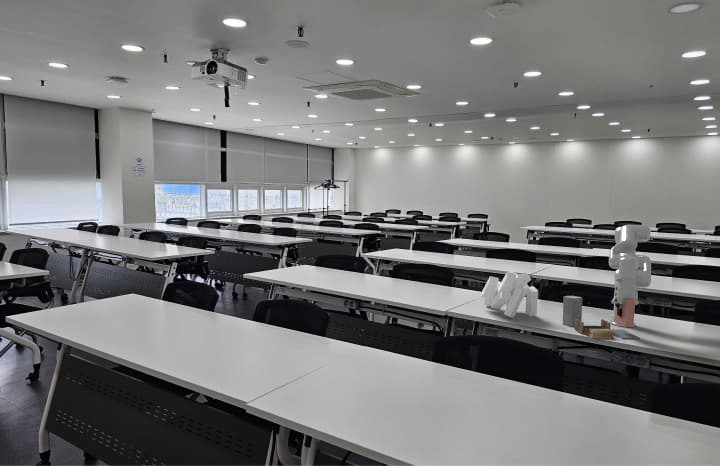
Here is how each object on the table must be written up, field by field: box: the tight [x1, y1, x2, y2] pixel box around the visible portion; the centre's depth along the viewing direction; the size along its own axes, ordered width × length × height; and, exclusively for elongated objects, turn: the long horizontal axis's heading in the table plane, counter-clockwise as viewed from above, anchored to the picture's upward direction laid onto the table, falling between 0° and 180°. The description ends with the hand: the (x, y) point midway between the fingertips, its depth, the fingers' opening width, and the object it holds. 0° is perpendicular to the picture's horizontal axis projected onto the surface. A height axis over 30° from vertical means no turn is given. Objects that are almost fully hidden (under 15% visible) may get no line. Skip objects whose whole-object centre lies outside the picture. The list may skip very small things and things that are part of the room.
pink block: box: [614, 299, 636, 328], centre depth 231 cm, size 4×10×14 cm, turn 1°
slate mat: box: [610, 328, 641, 340], centre depth 232 cm, size 14×9×1 cm, turn 1°
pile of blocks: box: [481, 271, 539, 319], centre depth 269 cm, size 35×30×35 cm
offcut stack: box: [587, 329, 614, 339], centre depth 228 cm, size 4×11×4 cm, turn 91°
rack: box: [574, 319, 612, 335], centre depth 236 cm, size 7×15×6 cm, turn 91°
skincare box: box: [562, 295, 583, 327], centre depth 249 cm, size 8×7×16 cm
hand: (624, 315), depth 231 cm, fingers closed on pink block, 4 cm apart
